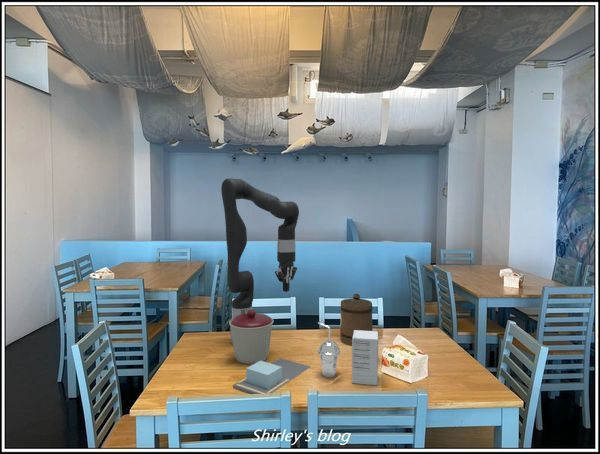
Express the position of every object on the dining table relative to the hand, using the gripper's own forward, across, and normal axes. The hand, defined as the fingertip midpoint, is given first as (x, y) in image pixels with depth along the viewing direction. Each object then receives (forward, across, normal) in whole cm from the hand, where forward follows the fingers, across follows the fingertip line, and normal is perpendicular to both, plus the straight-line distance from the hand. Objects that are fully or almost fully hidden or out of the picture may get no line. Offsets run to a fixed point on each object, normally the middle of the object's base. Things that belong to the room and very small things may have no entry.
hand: (286, 291), depth 166 cm
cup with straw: (+28, +7, +25) cm, 38 cm away
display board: (+28, +19, +9) cm, 35 cm away
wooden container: (+28, -33, +17) cm, 46 cm away
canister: (+28, +11, -9) cm, 32 cm away
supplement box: (+27, +1, +37) cm, 46 cm away
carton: (+27, +24, +9) cm, 37 cm away
